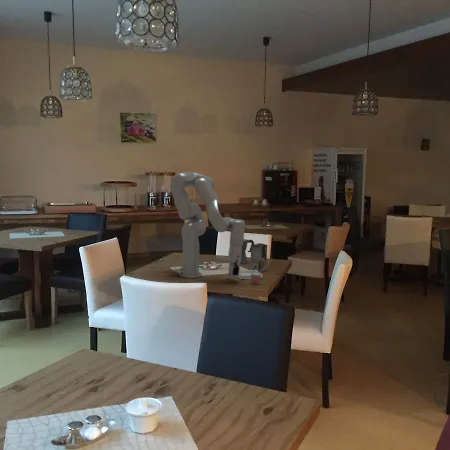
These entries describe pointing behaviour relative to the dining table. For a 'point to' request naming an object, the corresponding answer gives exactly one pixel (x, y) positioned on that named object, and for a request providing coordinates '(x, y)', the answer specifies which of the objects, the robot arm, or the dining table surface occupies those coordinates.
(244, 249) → the coffeepot
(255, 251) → the coffee box
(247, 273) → the tray
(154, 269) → the dining table surface
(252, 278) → the jam jar
